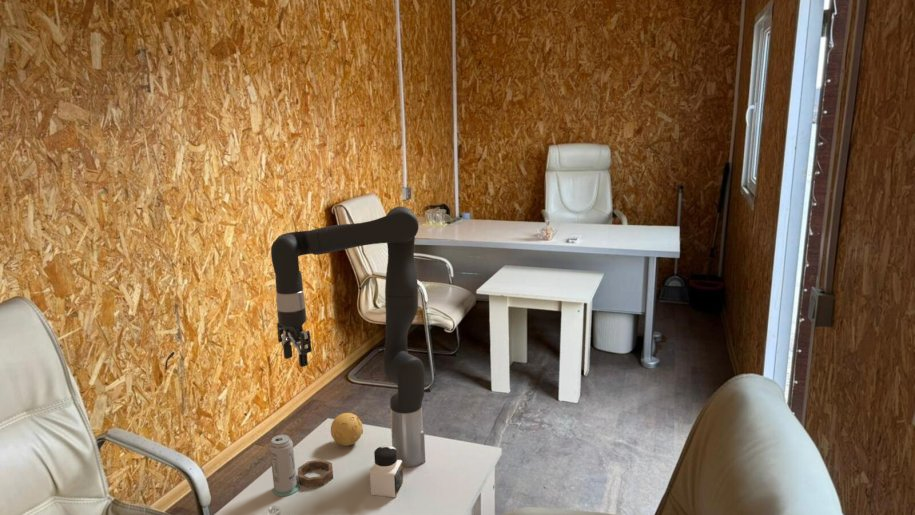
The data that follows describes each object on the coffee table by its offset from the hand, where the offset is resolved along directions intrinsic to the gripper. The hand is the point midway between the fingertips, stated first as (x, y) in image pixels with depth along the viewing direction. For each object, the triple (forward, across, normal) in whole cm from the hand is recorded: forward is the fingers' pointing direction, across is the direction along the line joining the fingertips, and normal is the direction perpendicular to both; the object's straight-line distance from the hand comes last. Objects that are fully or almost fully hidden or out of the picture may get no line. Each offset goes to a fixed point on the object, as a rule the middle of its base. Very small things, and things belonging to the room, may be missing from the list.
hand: (295, 361), depth 172 cm
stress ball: (+33, +2, -16) cm, 37 cm away
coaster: (+33, -6, +9) cm, 35 cm away
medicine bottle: (+33, -26, -11) cm, 43 cm away
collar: (+33, -7, 0) cm, 34 cm away
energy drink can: (+33, -6, +9) cm, 35 cm away
